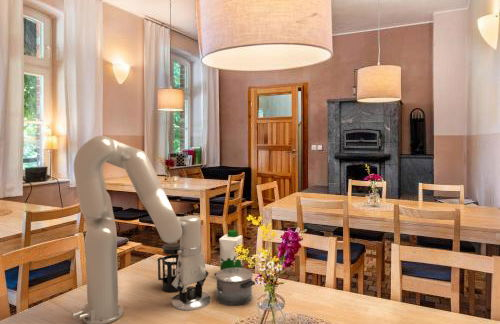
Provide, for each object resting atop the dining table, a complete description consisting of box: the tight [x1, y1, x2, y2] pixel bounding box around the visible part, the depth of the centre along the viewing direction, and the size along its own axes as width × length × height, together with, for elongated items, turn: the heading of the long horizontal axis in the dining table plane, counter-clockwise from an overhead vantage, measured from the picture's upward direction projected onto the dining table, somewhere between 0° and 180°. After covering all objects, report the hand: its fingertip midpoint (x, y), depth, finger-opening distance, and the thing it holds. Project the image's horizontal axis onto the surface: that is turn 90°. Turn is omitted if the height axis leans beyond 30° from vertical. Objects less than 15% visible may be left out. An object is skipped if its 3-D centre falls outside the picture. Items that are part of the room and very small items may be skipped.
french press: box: [157, 242, 183, 294], centre depth 141 cm, size 12×9×23 cm
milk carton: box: [218, 229, 243, 271], centre depth 150 cm, size 9×9×20 cm
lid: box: [171, 285, 212, 311], centre depth 130 cm, size 14×14×5 cm
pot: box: [213, 267, 256, 307], centre depth 132 cm, size 14×17×9 cm
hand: (191, 298), depth 130 cm, fingers closed on lid, 6 cm apart
